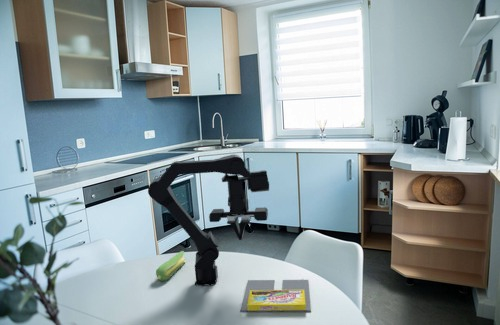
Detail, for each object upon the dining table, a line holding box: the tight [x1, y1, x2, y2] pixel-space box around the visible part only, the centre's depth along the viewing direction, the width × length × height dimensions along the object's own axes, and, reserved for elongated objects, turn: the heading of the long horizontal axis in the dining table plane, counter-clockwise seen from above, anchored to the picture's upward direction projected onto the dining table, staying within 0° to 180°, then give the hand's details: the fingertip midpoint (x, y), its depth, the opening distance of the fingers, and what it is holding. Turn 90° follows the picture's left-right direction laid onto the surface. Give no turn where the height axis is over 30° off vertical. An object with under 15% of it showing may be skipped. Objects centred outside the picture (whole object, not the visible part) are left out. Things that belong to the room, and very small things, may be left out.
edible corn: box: [155, 250, 186, 282], centre depth 132 cm, size 5×20×5 cm
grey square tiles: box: [239, 279, 312, 313], centre depth 110 cm, size 20×18×1 cm
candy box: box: [247, 289, 306, 312], centre depth 105 cm, size 16×2×8 cm
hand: (240, 239), depth 122 cm, fingers closed
